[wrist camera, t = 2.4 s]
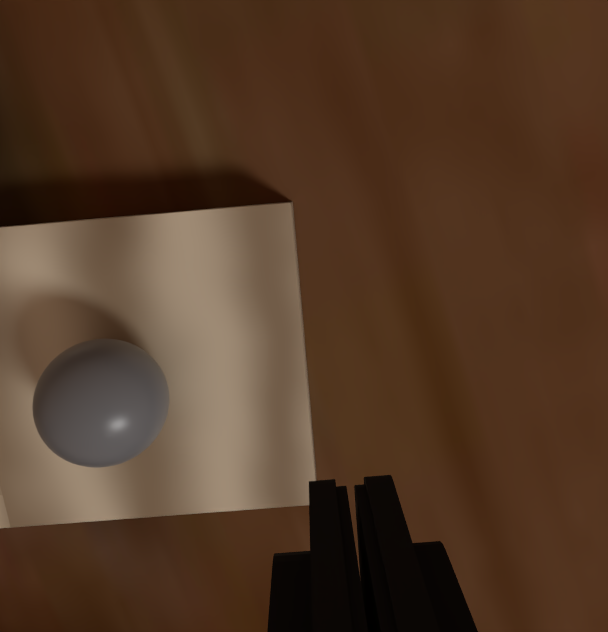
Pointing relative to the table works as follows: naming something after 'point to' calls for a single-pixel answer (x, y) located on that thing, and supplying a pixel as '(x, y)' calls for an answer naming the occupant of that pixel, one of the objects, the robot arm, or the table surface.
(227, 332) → the beige flat board
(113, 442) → the ball
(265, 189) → the table surface
